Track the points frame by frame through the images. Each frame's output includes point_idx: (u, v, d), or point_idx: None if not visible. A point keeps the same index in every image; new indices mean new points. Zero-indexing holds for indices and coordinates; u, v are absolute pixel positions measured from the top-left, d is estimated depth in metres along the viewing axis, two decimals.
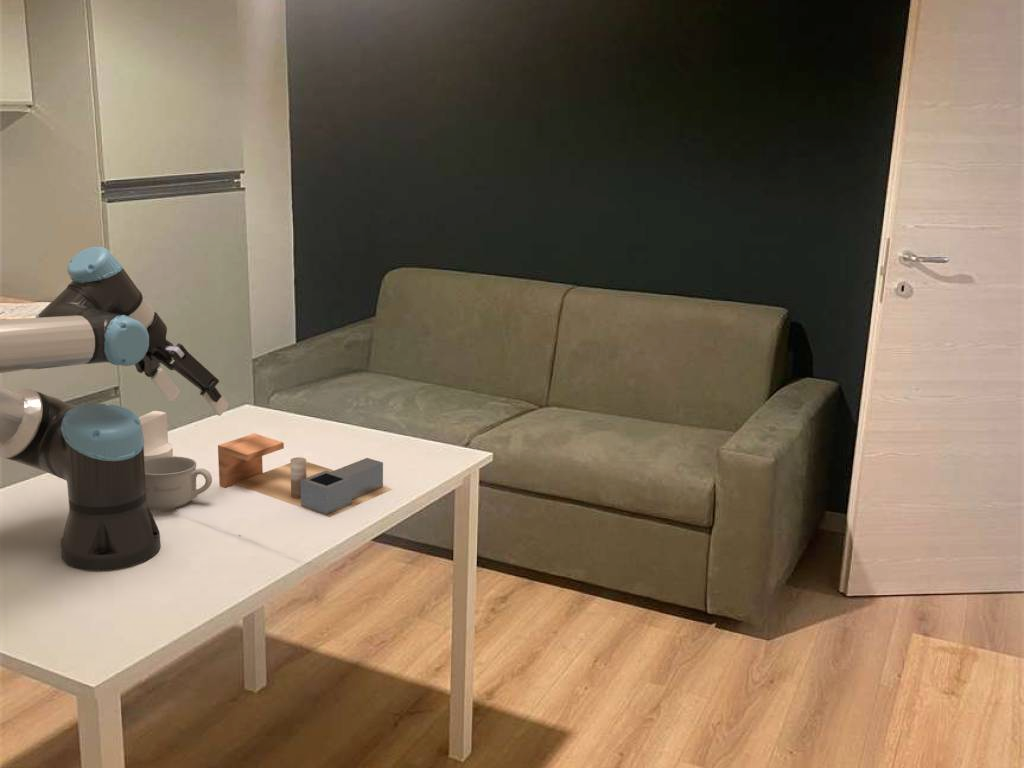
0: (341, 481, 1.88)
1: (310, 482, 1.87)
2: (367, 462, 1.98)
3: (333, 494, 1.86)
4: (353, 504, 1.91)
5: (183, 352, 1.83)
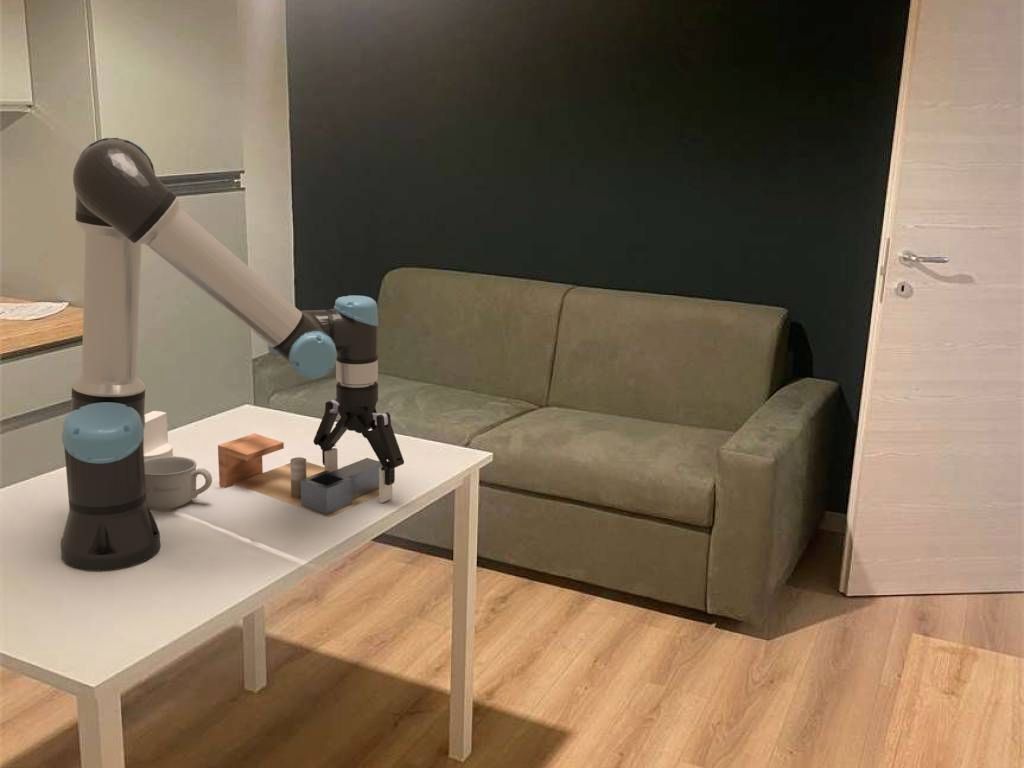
0: (341, 481, 1.88)
1: (310, 482, 1.87)
2: (367, 462, 1.98)
3: (333, 494, 1.86)
4: (353, 504, 1.91)
5: (387, 421, 1.89)
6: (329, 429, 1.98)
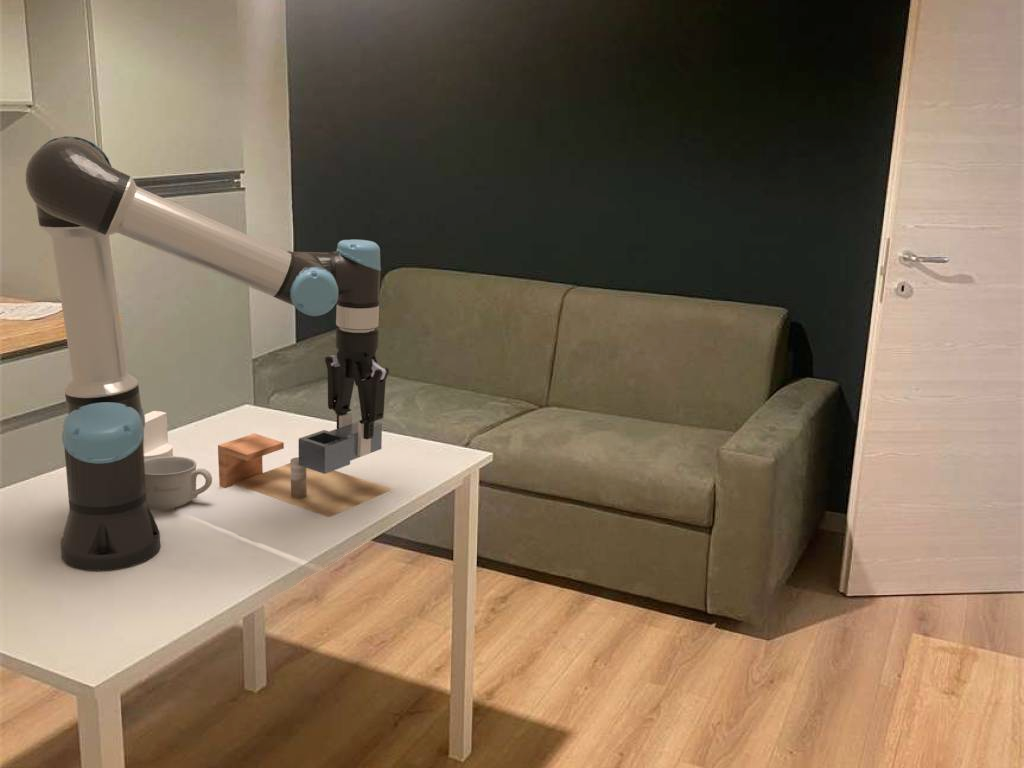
0: (339, 440, 1.86)
1: (308, 440, 1.85)
2: None
3: (331, 453, 1.84)
4: (353, 504, 1.91)
5: (383, 377, 1.87)
6: (338, 389, 1.94)
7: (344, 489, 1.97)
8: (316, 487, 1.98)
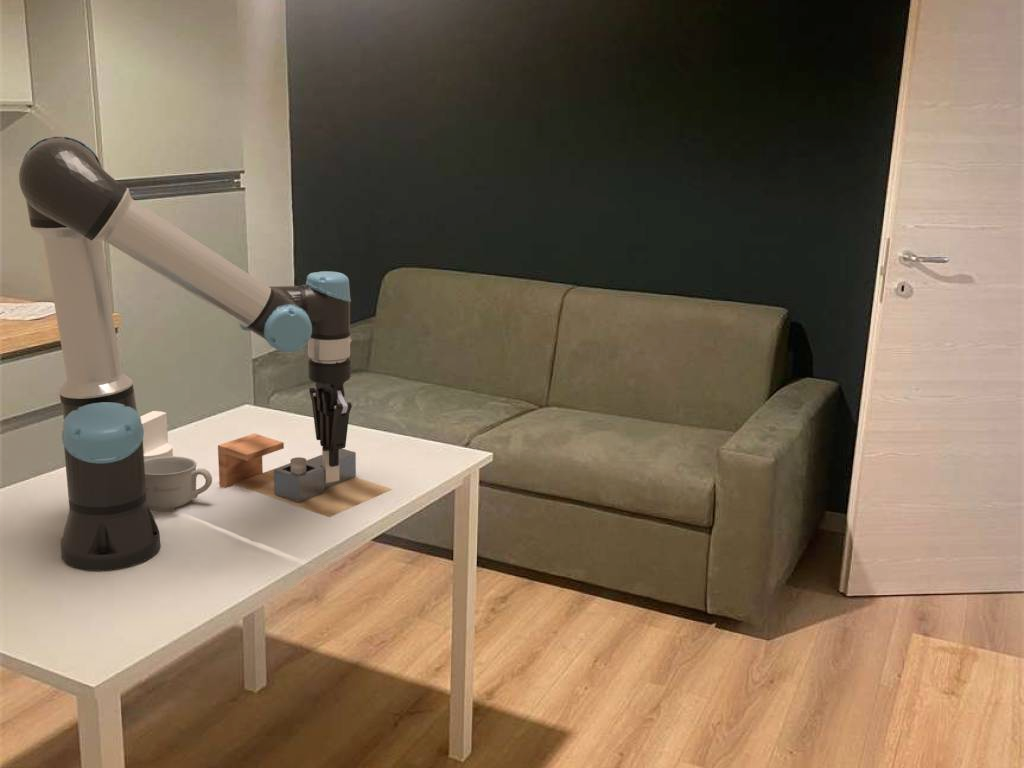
0: (313, 470, 1.93)
1: (283, 471, 1.92)
2: (340, 452, 2.02)
3: (305, 483, 1.91)
4: (353, 504, 1.91)
5: (346, 411, 1.88)
6: None
7: (344, 489, 1.97)
8: None
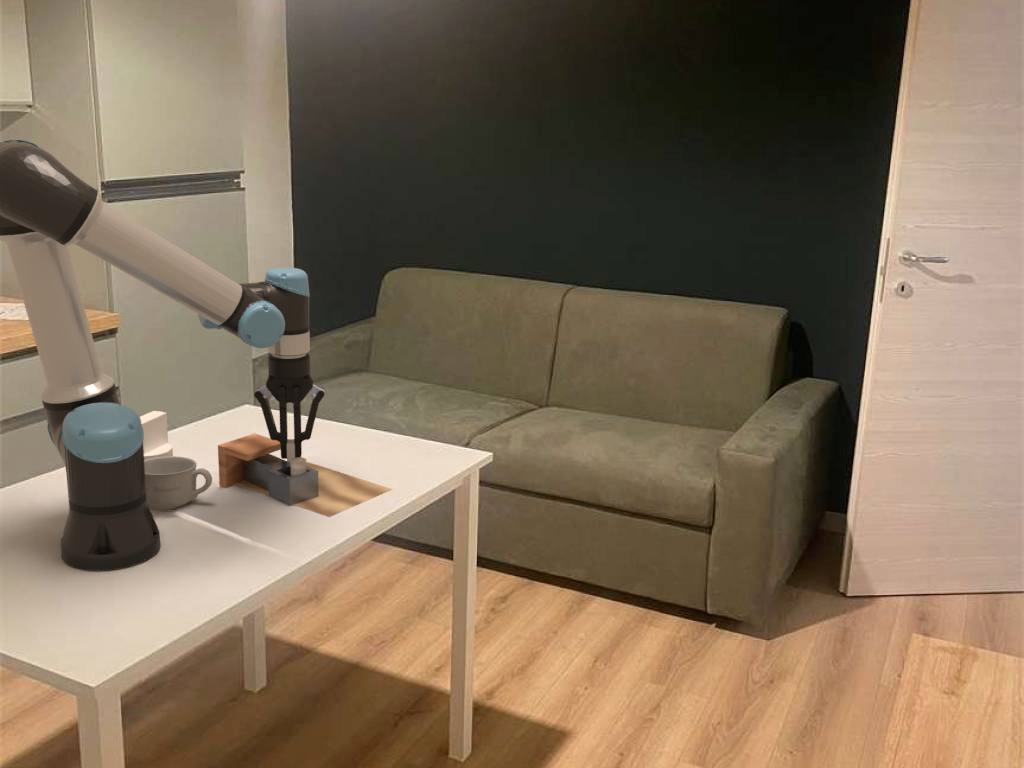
0: None
1: (298, 476, 1.90)
2: None
3: None
4: (353, 504, 1.91)
5: None
6: (273, 418, 1.96)
7: (344, 489, 1.97)
8: None
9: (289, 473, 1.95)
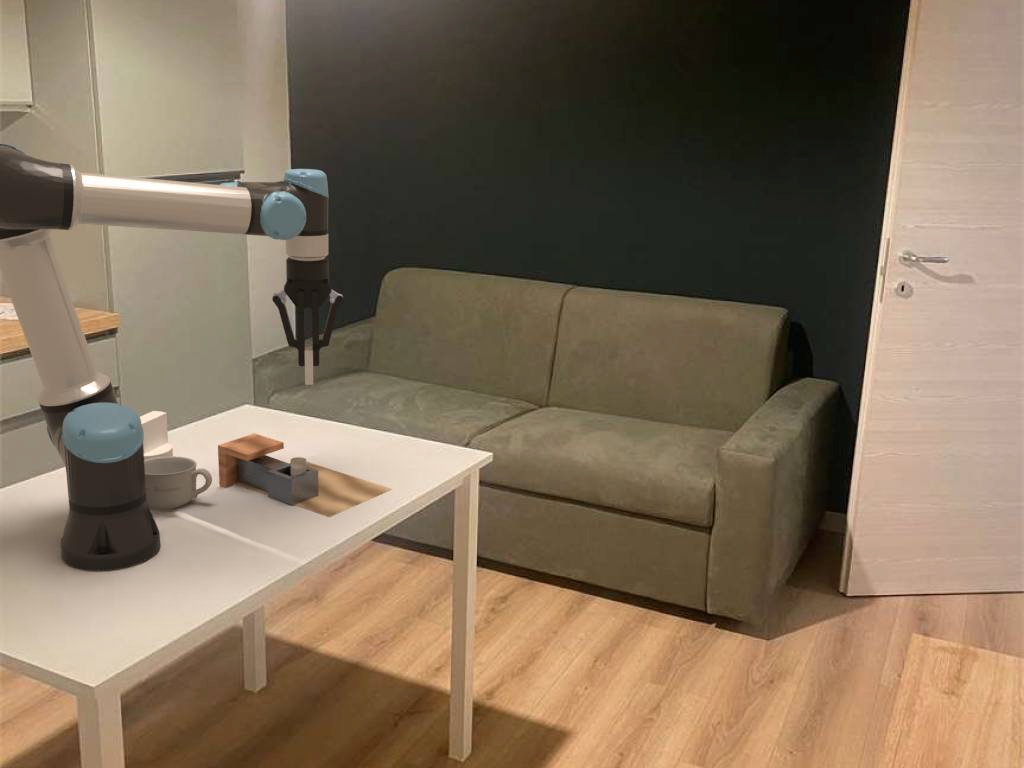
0: None
1: (299, 476, 1.90)
2: None
3: None
4: (353, 504, 1.91)
5: None
6: (290, 325, 1.93)
7: (344, 489, 1.97)
8: None
9: (288, 473, 1.94)
